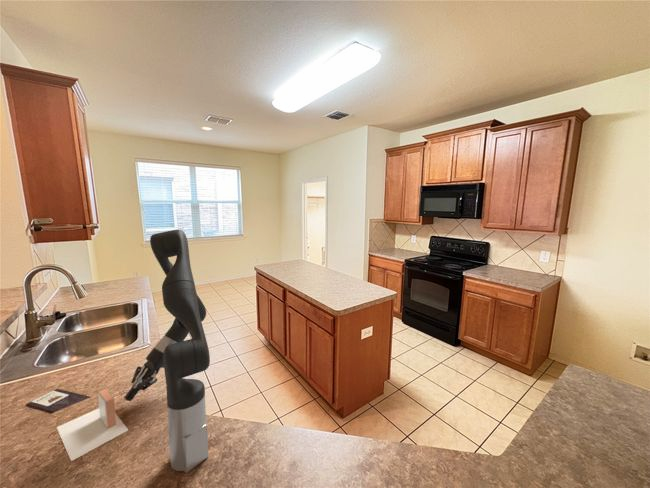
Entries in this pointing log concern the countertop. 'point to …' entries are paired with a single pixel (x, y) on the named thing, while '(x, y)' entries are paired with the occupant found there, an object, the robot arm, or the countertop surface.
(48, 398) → the chocolate bar
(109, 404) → the block
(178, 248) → the robot arm
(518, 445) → the countertop surface
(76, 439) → the mat
